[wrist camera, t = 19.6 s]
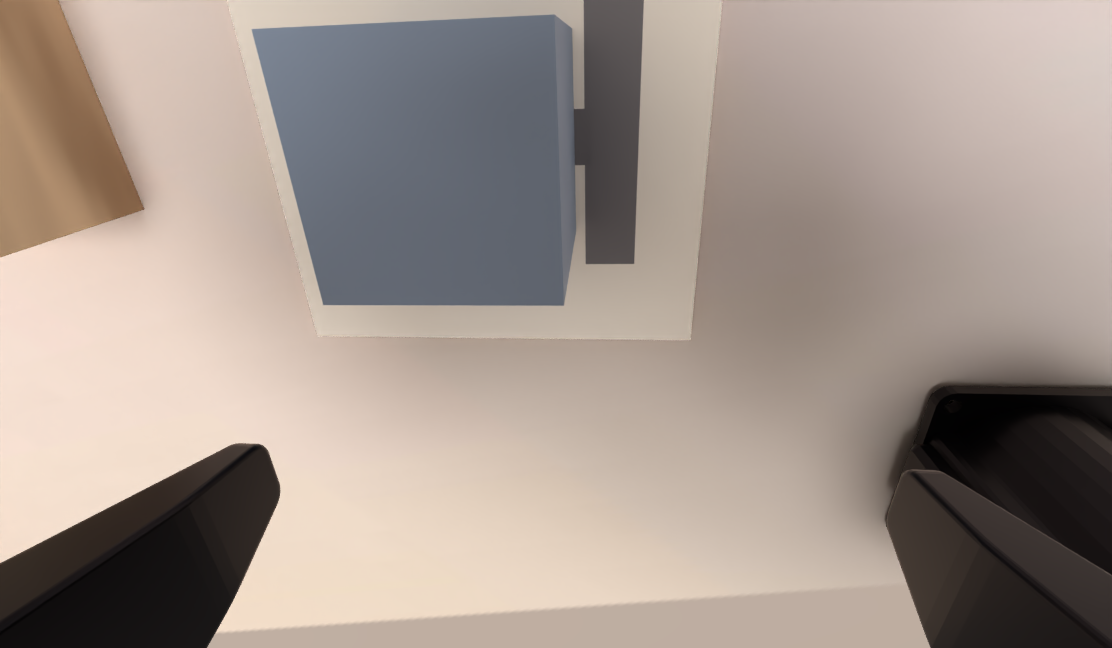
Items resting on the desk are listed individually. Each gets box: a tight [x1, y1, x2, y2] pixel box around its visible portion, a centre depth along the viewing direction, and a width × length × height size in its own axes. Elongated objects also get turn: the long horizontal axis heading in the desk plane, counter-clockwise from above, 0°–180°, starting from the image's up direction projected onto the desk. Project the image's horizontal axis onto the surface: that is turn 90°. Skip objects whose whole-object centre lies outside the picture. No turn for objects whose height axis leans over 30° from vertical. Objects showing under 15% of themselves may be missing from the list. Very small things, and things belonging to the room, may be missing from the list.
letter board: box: [226, 0, 723, 340], centre depth 14 cm, size 12×12×1 cm
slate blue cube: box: [251, 14, 576, 306], centre depth 12 cm, size 5×5×5 cm
